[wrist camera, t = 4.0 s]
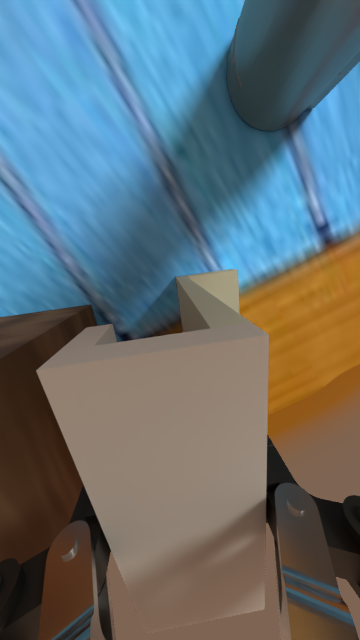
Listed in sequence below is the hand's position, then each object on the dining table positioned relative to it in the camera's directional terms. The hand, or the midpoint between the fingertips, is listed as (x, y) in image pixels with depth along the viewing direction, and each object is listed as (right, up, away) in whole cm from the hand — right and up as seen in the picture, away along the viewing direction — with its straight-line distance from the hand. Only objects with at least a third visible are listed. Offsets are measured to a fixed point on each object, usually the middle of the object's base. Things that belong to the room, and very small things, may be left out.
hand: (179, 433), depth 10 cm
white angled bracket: (+2, +5, +15) cm, 16 cm away
